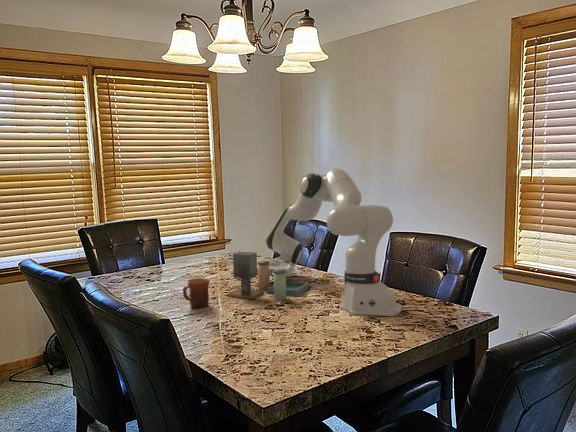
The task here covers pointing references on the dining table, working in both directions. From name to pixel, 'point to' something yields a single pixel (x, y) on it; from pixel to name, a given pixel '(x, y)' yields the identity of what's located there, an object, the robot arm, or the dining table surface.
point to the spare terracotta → (263, 274)
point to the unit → (245, 275)
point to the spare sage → (279, 284)
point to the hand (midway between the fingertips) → (263, 274)
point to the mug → (197, 292)
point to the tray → (291, 287)
